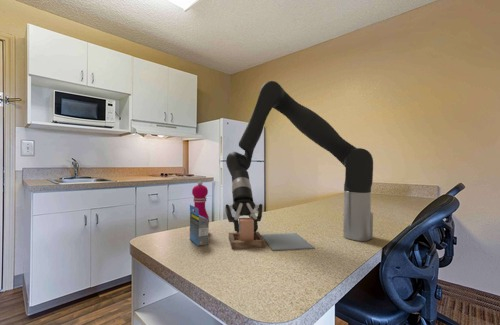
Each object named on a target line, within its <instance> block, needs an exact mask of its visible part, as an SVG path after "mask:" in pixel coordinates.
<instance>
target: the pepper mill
mask: <svg viewBox="0 0 500 325" xmlns="http://www.w3.org/2000/svg"><path fill="white" fill-rule="evenodd" d="M208 193H209V190H208V187H207V186H206V185H203V181H201V180H199V181H198V182H197V185H195V186H194V187H192V191H191V195H192V196H193V197H192V199H193V203H194V205H193V206H194V207H196V208H198V211H199V215H200V216H202V217H204V218H206V219H208V220H209V221H210V219H209V215H208V213H207V209H206V202H207V195H208ZM193 211H194V212H196V211H195V210H193Z"/></svg>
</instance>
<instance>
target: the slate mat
mask: <svg viewBox="0 0 500 325" xmlns="http://www.w3.org/2000/svg"><path fill="white" fill-rule="evenodd" d="M260 235H261V236H262V237H263V239H264V240H265V244H267V245H268V246H269V248H270V250H271V251H273V252H274V251H293V250H295V251H296V250H312V249H315V246H313V245H312V244H311V243H309V242H308V241H307V240H306V239H304V238H303V237H302V236H301V235H300V234H298V233H297V232H291V233H290V232H289V233H287V232H286V233H265V234H264V233H263V234H262V233H260Z"/></svg>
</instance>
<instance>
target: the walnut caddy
mask: <svg viewBox="0 0 500 325" xmlns="http://www.w3.org/2000/svg"><path fill="white" fill-rule="evenodd" d="M228 241H229V245H230V247H231V250H233V249H235V250H236V249H253V248H255V249H257V248H266V241H265V240H264V239H263V237H262V236H261V233H260V232H259V231H256V232H254V240H249V241H239V233H237V232H236V231H234V232H228Z"/></svg>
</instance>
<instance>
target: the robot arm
mask: <svg viewBox="0 0 500 325" xmlns="http://www.w3.org/2000/svg"><path fill="white" fill-rule="evenodd" d="M272 109H274V110H276V111H277V112H279V113H281V114H282V115H283V116H284V117H286V118H287V119H288V121H290V123H291V124H292V125H293V126H294V127H295V128H296V129H297V130H298V131H299V132H301V133H302V135H304V136H305V137H307V138H308V139H309V140H311V141H312V142H314V143H315V144H316V145H318V146H319V147H321V148H322V149H324V150H326V151H327V152H329V153H330V154H331V155H332V156H333V157H335V158H336V159H337V160H338V161H339V162H340V163H341V164H342V166H343V167H344V168H345V175H344V177H345V179H344V183H343V229H342V230H343V233H342V234H343V237H344V238H346V239H347V240H348V239H349V240H352V241H357V242H360V241H361V242H366V241H370V240H373V239H374V238H373V237H374V236H373V235H374V234H373V232H374V213H373V212H372V208H371V205H372V204H371V202H372V201H371V200H372V198H371V197H372V186H373V181H374V180H373V178H374V160H373V159H374V157H373V155H372V154H371V152H370V151H368V150H367V149H366V148H361V147H360V148H359V147H358V148H357V147H356V146H354V145H353V144H351V143H350V142H348V141H347V140H345V139H344V138H343V137H342V136H341V135H340V134H339V132H337V131H336V129H334V127H333V126H332V125H331V124H330V123H329V122H328V121H327V120H325V119H324V118H323V117H322V116H320V115H319V114H318V113H316V112H315V111H313V110H311V109H310V108H309V107H307V106H305V105H303V104H301V103H299V102H298V101H297V100H295V99H294V98H293V97H292V96H291V95H289V93H288V92H286V91H285V89H284V88H283V86H282V85H281V84H280V83H279V82H277V81H273V80H270V81H269V80H268V81H267V82H265V83H264V84H263V85H262V86H261V87H260V91H259V94H258V96H257V101H256V103H255V106H254V109H253V112H252V114H251V117H250V118H249V121H248V124H247V125H246V128H245V129H244V132H243V134H242V136H241V138H240V139H239V142H238V146H239V148H240V149H241V150H243V151H244V154H242V153H239V152H237V151H231V152H229V153H228V154H227V156H226V161H225V162H226V166H227V170H228V172H229V174H230V176H231V184H232V185H231V193H232V202H233V203H232V204H230V205H229V204H228V203H227V204H225V208H224V210H225V214H226V217H227V220H228V223H233V227H234V232H237V233H239V218H240V217H243V216H248V218H252V219H253V220H254V232H258V228H259V224H258V222H261V220H262V217H263V204H262V203H259V204H255V202H254V197H253V191H252V186H251V182H250V176H249V172H248V170H249V168H250V167H251V165H252V158H253V156H254V151H255V148H256V146H257V145H258V142H259V141H260V138H261V135H262V133H263V129H264V127H265V124H266V121H267V118H268V116H269V115H270V113H271V111H272ZM232 210H234V212H235V216H233V215H232V214H233V213H232ZM254 210H256V212H257V215H256V214H255V211H254Z"/></svg>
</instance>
